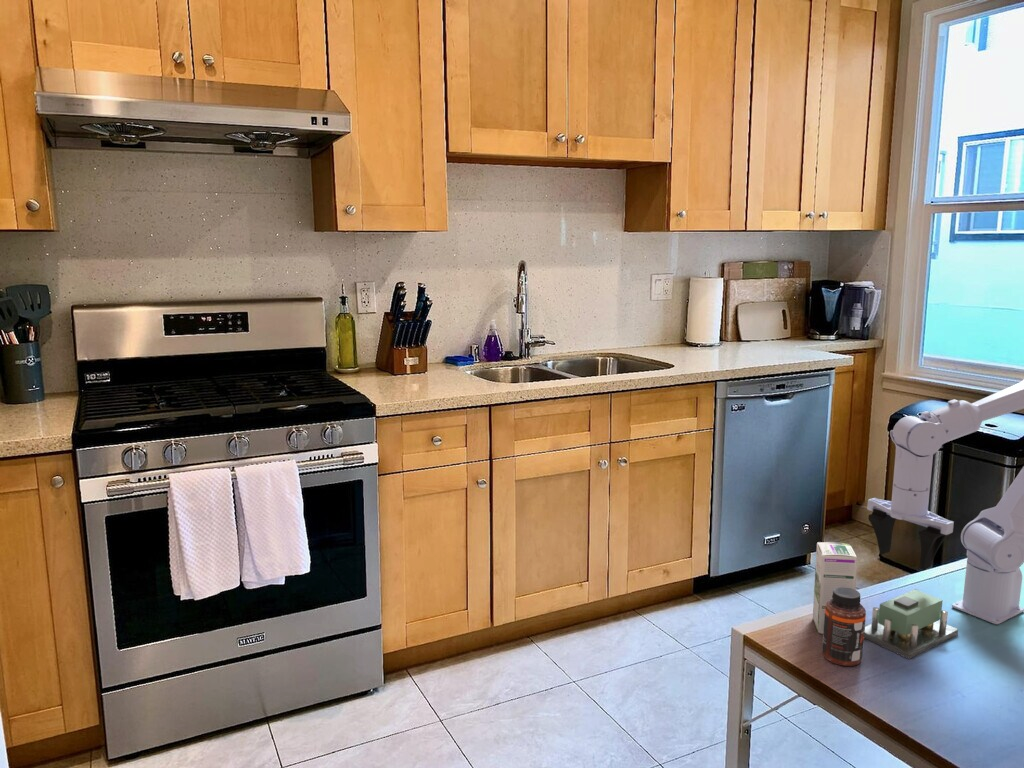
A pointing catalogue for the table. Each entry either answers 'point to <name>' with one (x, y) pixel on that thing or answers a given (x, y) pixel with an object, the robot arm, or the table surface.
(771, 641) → the table surface
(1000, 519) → the robot arm
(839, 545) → the syrup box
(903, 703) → the table surface
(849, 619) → the supplement bottle
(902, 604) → the green rectangular block
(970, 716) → the table surface
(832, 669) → the table surface
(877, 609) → the chassis
